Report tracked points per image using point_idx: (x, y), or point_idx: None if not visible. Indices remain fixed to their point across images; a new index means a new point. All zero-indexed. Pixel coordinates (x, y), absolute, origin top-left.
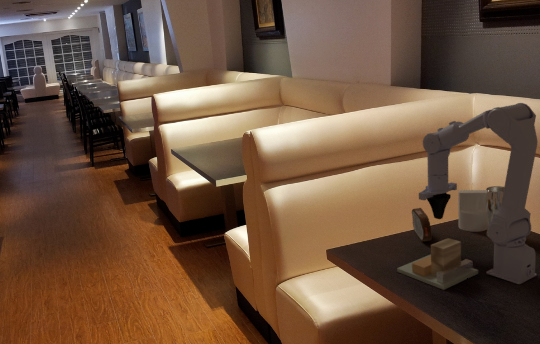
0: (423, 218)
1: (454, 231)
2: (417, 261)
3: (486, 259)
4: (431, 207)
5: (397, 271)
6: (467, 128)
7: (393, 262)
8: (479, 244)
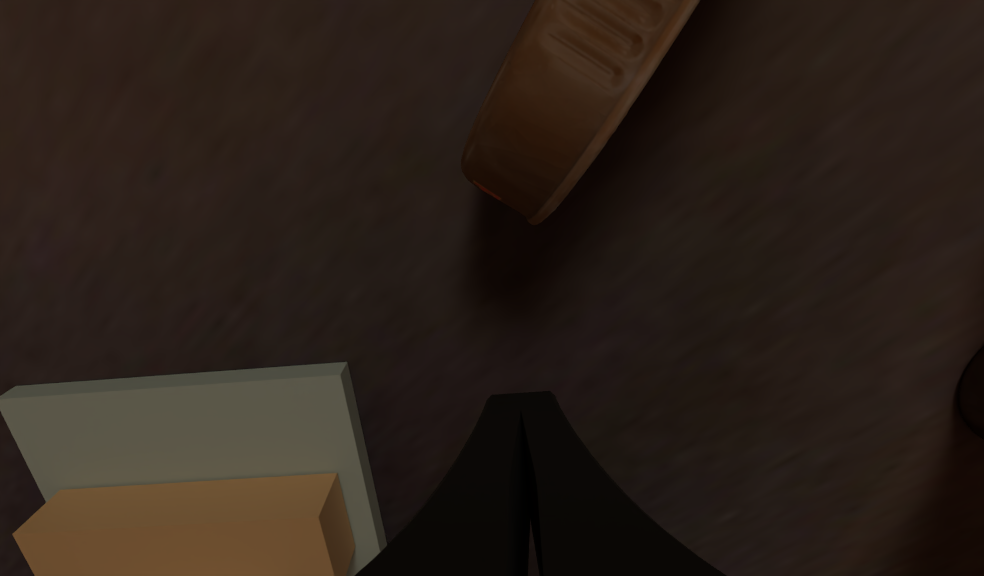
0: (538, 116)
1: (959, 77)
2: (62, 534)
3: None
4: (435, 498)
5: (16, 389)
6: None
7: (61, 261)
8: (788, 406)
